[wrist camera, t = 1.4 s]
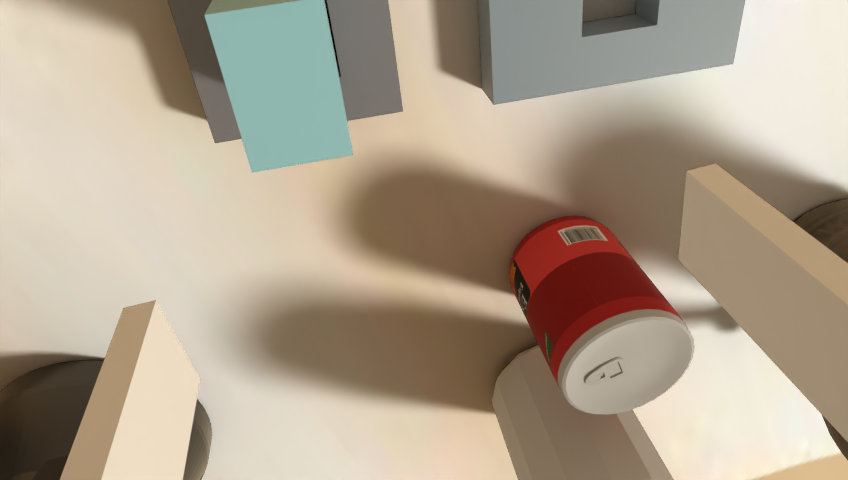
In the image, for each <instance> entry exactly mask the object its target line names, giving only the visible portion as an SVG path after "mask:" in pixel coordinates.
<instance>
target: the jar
mask: <svg viewBox="0 0 848 480" xmlns="http://www.w3.org/2000/svg"><path fill="white" fill-rule="evenodd" d="M492 405H493V408H494V411H495V414H496V417H497V419H498V422H499V425H500V428H501V431H502V434H503V437H504V440H505V443H506V446H507V449H508V451H509V454H510V457H511V460H512V463H513V466H514V469H515V472H516V475H517V478H518V480H674V479H673V478H672V476H671V474H670V473H669V471H668V469H667V468H666V466H665V464H664V462H663V461H662V459H661V457H660V456H659V454H658V452H657V451H656V449H655V447H654V445H653V444H652V442H651V440H650V439H649V437H648V435H647V434H646V432H645V430H644V428H643V427H642V425H641V423H640V422H639V420H638V418H637V417H636V415H635V413H634V411H633V410H628V411H624V412H620V413H614V414H592V413H586V412H583V411H581V410H578V409H576V408H575V407H574V406H572V405H571V404H570V403H569V402H568V401H567V399H566V398H565V396H564V395H563V393H562V392H561V390H560V388H559V386H558V384H557V382H556V380H555V378H554V377H553V375H552V372H551V370H550V368H549V366H548V364H547V362H546V360H545V358H544V355H543V353H542V351H541V349H540V347H539V345H536V346H534V347H532V348H529V349H527V350H525V351H523V352H521V353H519V354H517V355H516V356H515V358H514V359H513V360H512V361H511V362H510V363H509V364H508V365H507V366H506V367H505V368H504V369H503V370H502V372H501V373H500V375H499V376H498V378H497V380H496V384H495V389H494V393H493V398H492Z"/></svg>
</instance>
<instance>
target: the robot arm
mask: <svg viewBox="0 0 848 480" xmlns="http://www.w3.org/2000/svg"><path fill="white" fill-rule="evenodd" d="M678 260H679V261H680V262H681V263H682V264H683V265H684V266H685V267H686V268H687V269H688V270H689V272H690V273H691V274H692V275H693V276H694V277H695V278H696V279H697V280H698V281H699V282H700V283H701V284H702V286H703V287H704V288H705V289H706V290H707V291H708V292H709V293H710V294H711V295H712V296H713V297H714V298H715V300H716V301H717V302H718V303H719V304H720V305H721V306H722V307H723V308H724V309H725V310H726V311H727V313H728V314H729V315H730V316H731V317H732V318H733V319H734V320H735V321H736V322H737V323H738V324H739V325H740V327H741V328H742V329H743V330H744V331H745V332H746V333H747V334H748V335H749V336H750V337H751V338H752V339H753V341H754V342H755V343H756V344H757V345H758V346H759V347H760V348H761V349H762V350H763V351H764V352H765V353H766V355H767V356H768V357H769V358H770V359H771V360H772V361H773V362H774V363H775V364H776V365H777V366H778V368H779V369H780V370H781V371H782V372H783V373H784V374H785V375H786V376H787V377H788V378H789V379H790V380H791V382H792V383H793V384H794V385H795V386H796V387H797V388H798V389H799V390H800V391H801V392H802V393H803V394H804V396H805V397H806V398H807V399H808V400H809V401H810V402H811V403H812V404H813V405H814V406H815V407H816V409H817V410H818V411H819V412H820V413H821V414H822V415H823V416H824V417H825V418H826V419H827V420H828V421H829V423H830V424H831V425H832V426H833V427H834V428H835V429H836V430H837V431H838V432H839V433H840V434H841V435H842V437H843V438H844V439H845V440H846V441H847V442H848V255H844V256H840V257H839V256H837V255H836V254H835V253H833V252H832V251H831V250H830V249H828V248H827V247H826V246H824V245H823V244H822V243H820V242H819V241H818V240H816V239H815V238H814V237H812V236H811V235H810V234H808V233H807V232H806V231H804V230H803V229H802V228H800V227H799V226H798V225H796V224H795V223H794V222H792V221H791V220H790V219H788V218H787V217H786V216H784V215H783V214H782V213H781V212H779V211H778V210H777V209H775V208H774V207H773V206H771V205H770V204H769V203H767V202H766V201H765V200H763V199H762V198H761V197H759V196H758V195H757V194H755V193H754V192H753V191H751V190H750V189H749V188H747V187H746V186H745V185H743V184H742V183H741V182H739V181H738V180H737V179H735V178H734V177H733V176H732V175H730V174H729V173H728V172H726V171H725V170H724V169H722V168H721V167H720V166H718V165H717V164H713V165H708V166H704V167H700V168H696V169H692V170H688V171H686V181H685V192H684V203H683V214H682V224H681V235H680V246H679V256H678ZM199 384H200V378H199V376H198V375H197V373H196V371H195V369H194V367H193V366H192V364H191V362H190V360H189V358H188V357H187V355H186V353H185V351H184V349H183V348H182V346H181V344H180V342H179V340H178V339H177V337H176V335H175V333H174V332H173V330H172V328H171V326H170V324H169V323H168V321H167V319H166V317H165V315H164V314H163V312H162V310H161V308H160V306H159V305H158V303H157V301H156V300H154V301H150V302H146V303H142V304H138V305H134V306H130V307H126V308H123V311H122V313H121V316H120V319H119V321H118V324H117V327H116V329H115V332H114V335H113V338H112V340H111V343H110V346H109V348H108V351H107V354H106V356H105V359H104V361H73V362H65V363H59V364H55V365H50V366H47V367H43V368H40V369H37V370H34V371H32V372H30V373H27V374H25V375H23V376H21V377H19V378H18V379H16V380H15V381H13V382H12V383H10V384H9V385H7V386H6V387H5V388H4V389H3V390H2V391H1V392H0V480H201V479H202V477H203V475H204V473H205V470H206V467H207V464H208V459H209V452H210V445H211V438H212V429H211V423H210V420H209V417H208V415H207V413H206V411H205V409H204V408H203V406H202V405H201V403H200V402H199V401H198V400H197V396H198V390H199Z"/></svg>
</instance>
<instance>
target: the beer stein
mask: <svg viewBox="0 0 848 480" xmlns="http://www.w3.org/2000/svg"><path fill="white" fill-rule="evenodd" d="M794 223H795V224H796V225H798V226H799V227H800V228H802V229H803V230H804V231H806V232H807V233H808V234H810V235H811V236H812V237H814V238H815V239H816V240H818V241H819V242H820V243H822V244H823V245H824V246H826V247H827V248H828V249H830V250H831V251H832V252H833V253H835V254H836V255H837V256H839V257H840V256H844V255H848V199H844V200H839V201H835V202H832V203H828V204H825V205H822V206H820V207H818V208H815V209H813V210H811V211H809V212H807V213H805V214H804V215H803V216H801V217H800V218H799V219H798V220H796V221H795V222H794ZM822 416H823V415H822ZM823 419H824V421H825V423H826V426H827V428H828V430H829V433H830V435H831V436H832V438H833V440H834V441H835V443H836V444H837V446H838V448H839V449H840V451H841V452H842V454H843V455H844V456H845V457H846V459H847V460H848V442H847V441H846V440H845V439H844V438H843V437H842V435H841V434H840V433H839V432H838V431H837V430H836V429H835V428H834V427H833V426H832V425H831V424H830V423H829V421H828V420H827V419H826V418H825V417H824V416H823Z"/></svg>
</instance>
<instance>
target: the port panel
mask: <svg viewBox="0 0 848 480" xmlns="http://www.w3.org/2000/svg"><path fill="white" fill-rule="evenodd" d="M744 3H745V0H637V3H636V14H633V15H627V16H621V17H614V18H608V19H602V20H596V21H589V22H583V23H582V15H583V0H478V19H479V37H480V56H481V75H482V90H483V91H484V92H485V94H486V95H487V96H488V98H489V99H490V100H491V102H492V103H493V104H494V105H495V104H501V103H507V102H513V101H519V100H525V99H531V98H536V97H542V96H548V95H554V94H560V93H566V92H572V91H577V90H583V89H589V88H595V87H601V86H607V85H613V84H618V83H624V82H630V81H636V80H642V79H648V78H654V77H660V76H665V75H671V74H677V73H683V72H689V71H695V70H701V69H706V68H712V67H718V66H724V65H730V64H733V62H734V57H735V52H736V46H737V41H738V36H739V30H740V25H741V19H742V14H743V9H744Z"/></svg>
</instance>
